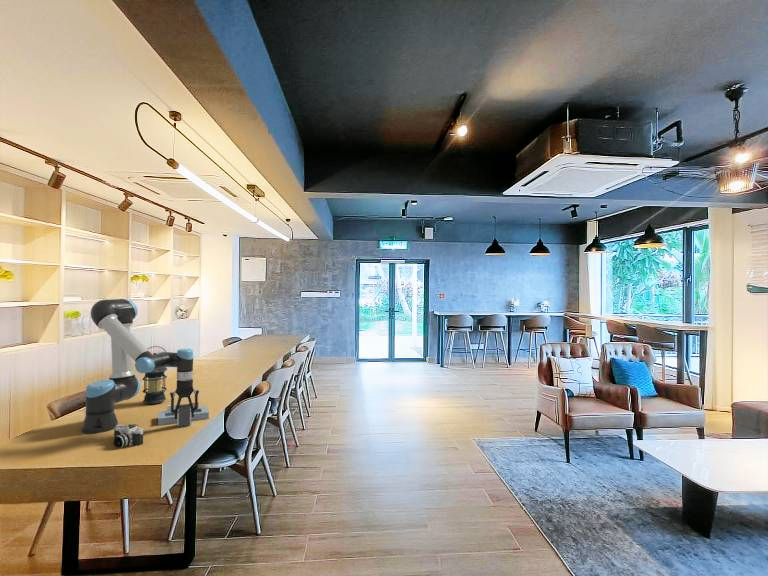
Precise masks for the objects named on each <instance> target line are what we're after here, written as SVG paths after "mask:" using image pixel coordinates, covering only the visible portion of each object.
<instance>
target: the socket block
mask: <svg viewBox="0 0 768 576" xmlns="http://www.w3.org/2000/svg"><path fill="white" fill-rule="evenodd" d="M176 405H177V404H174V409H175V408H176ZM192 405H193V407H195V401H194V402H192ZM166 406H167V409H166V410H159V411H158V415H157V418H158V419H157V426H164V425H165V426H166V425H172V424H173V425H174V424H177V419H175V413H173V412H171V404H169V405H166ZM207 406H208V405H200V406H199V405H198V409H197V410H194V417H191V422H193V421H201V420H208V419H210V416H209V415H210V412H209V410H208V407H207ZM190 410H191V407H190ZM178 412H179V409H178Z"/></svg>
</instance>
